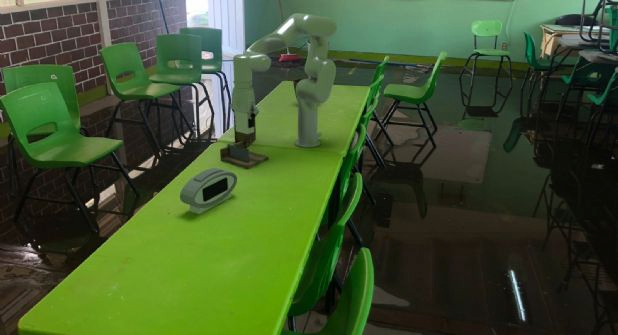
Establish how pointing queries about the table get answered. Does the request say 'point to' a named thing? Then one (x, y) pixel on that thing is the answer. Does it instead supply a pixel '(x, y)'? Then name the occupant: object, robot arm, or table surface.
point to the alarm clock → (208, 189)
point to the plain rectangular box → (242, 122)
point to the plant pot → (297, 83)
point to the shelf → (241, 156)
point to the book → (245, 136)
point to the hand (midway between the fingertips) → (244, 125)
